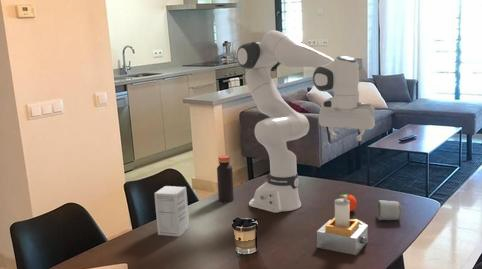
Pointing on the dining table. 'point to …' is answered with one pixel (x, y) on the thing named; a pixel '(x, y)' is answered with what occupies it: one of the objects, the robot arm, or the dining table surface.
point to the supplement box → (172, 211)
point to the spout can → (342, 212)
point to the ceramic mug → (388, 210)
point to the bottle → (225, 179)
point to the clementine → (351, 199)
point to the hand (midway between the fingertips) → (346, 139)
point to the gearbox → (342, 237)
